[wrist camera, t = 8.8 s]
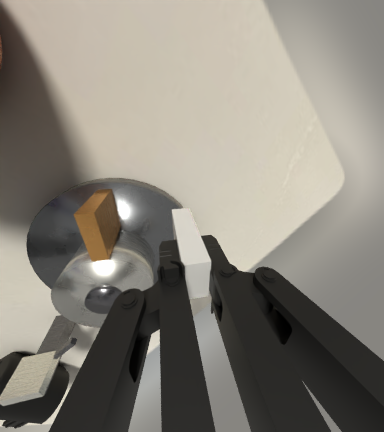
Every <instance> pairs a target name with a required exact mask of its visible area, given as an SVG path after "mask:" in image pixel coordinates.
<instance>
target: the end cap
mask: <svg viewBox="0 0 384 432" xmlns="http://www.w3.org/2000/svg"><path fill="white" fill-rule="evenodd" d="M23 357H28V356H26V355H23V354H20V353H16V352H12V353H10V354H9V355H7V356H5V357H4V358H2V359H0V395H1V394H2V392H3V390H4V389H5V387H6V385H7V383H8V382H9V380H10V378H11V377H12V375H13V373H14V371H15V370H16V368H17V366H18V365H19V363H20V361H21V360H22V358H23ZM68 383H69V373H68V371H66V369H65V368H64V367H63V366H59V365H57V368H56V370H55V373H54V375H53V377H52V380H51V382H50V385H49V387H48V389H47V392H46V393H45V394H44V396H43V397H38V398H34V399H30V400H26V401H22V402H18V403H14V404H10V405H6V406H2V405H1V404H0V420H6V421H4V423H3V425H2V426H5V427H6V428H7V427H14V428H17V427H21V426H23V425H25V424H27V423H38V424H42V423H43V422H45V421H46V420H47V419H48V418H49V417H50V416H51V415H52V414H53V413H54V411H55V410H56V409H57V407H58V405H59V404H60V402H61V400H62V398H63V396H64V394H65V392H66V389H67V386H68Z"/></svg>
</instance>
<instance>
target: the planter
mask: <svg viewBox="0 0 384 432" xmlns="http://www.w3.org/2000/svg"><path fill="white" fill-rule="evenodd" d="M1 63H2V43H1V36H0V69H1Z"/></svg>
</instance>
